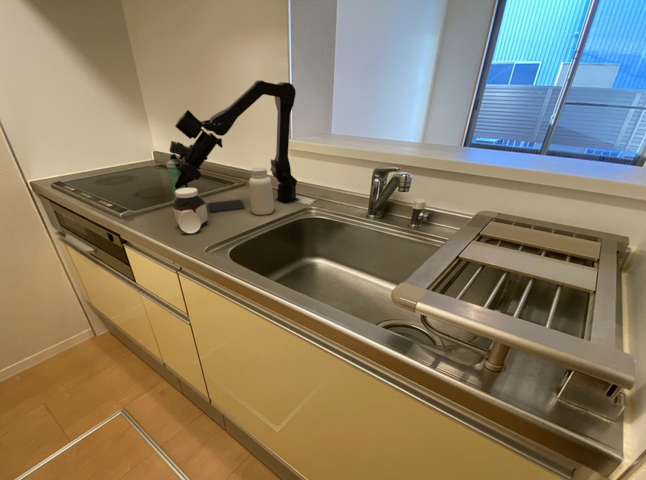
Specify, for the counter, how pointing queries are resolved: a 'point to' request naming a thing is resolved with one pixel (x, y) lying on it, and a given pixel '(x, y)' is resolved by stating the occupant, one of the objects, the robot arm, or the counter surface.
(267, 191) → the pill bottle
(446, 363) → the counter surface
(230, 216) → the counter surface
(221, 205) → the mat
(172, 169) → the spray can
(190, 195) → the spread jar
